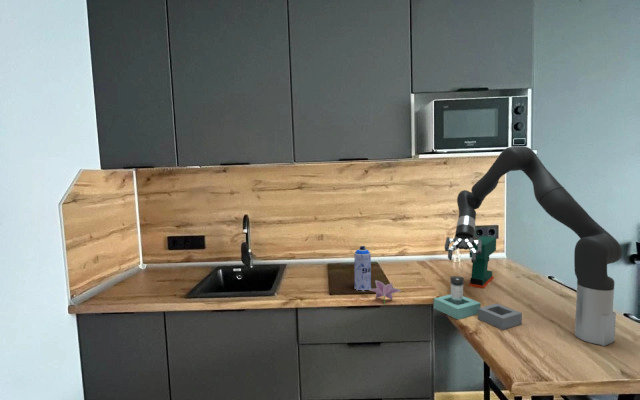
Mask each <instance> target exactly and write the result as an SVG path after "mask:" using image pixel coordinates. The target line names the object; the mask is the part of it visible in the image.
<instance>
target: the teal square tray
mask: <svg viewBox="0 0 640 400" xmlns="http://www.w3.org/2000/svg"><path fill="white" fill-rule="evenodd" d="M481 307H482V305H481V302H479V301H477V300H474V299H471V298H469V297H467V296H464V295H463V304H461V305H455V304H453V303H451V293H450V294H447V295H443V296H438V297H434V298H433V310H437V311H438V312H441V313H443V314H446V316H449V317H452V318H453V319H456V320H461V319H465V318H468V317H472V316H475V315H478V308H481Z"/></svg>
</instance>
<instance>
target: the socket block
mask: <svg viewBox="0 0 640 400" xmlns="http://www.w3.org/2000/svg"><path fill="white" fill-rule="evenodd" d="M477 320H479V321H482V322H483V323H486V324H488V325H491V326H493V327H495V328H498V329H500V330H502V331H504V330H507V329H510V328H513V327H516V326H519V325H522V324H523V313H522V312H520V311H519V310H515V309H513V308H510V307H508V306H505V305H502V304H499V303H497V302H496V303H493V304H488V305H485V306H481V308H478V314H477Z"/></svg>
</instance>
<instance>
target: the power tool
mask: <svg viewBox="0 0 640 400" xmlns="http://www.w3.org/2000/svg"><path fill="white" fill-rule="evenodd" d="M479 239H480V240H481V243H482V249H481V255H479V254H478V255H476V261H475V262H474V263H472V264H471V265H472V266H471V277H469V278H470V280H469V281H470V282H469V283H468V286H469V287H473V288H474V287H475V288H477V289H478V288H479V289H485V287H488V285H489V284H488V283H489V282H492V280H494V275H493V270H488V268H489V267H488V265H489V262H490V256H491V255H492V254H493V253H495V252H496V251H497V237H493V236H484V235H483V236H480V237H479V238H477V239H476V240H475V239H474V240H475V241H478V240H479ZM473 247H474V249H475V250H478V246H477V245H476V244H474V245H473ZM469 258H470V259H471V258H472V252H470V251H469Z"/></svg>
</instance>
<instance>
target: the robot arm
mask: <svg viewBox="0 0 640 400" xmlns="http://www.w3.org/2000/svg"><path fill="white" fill-rule="evenodd" d="M514 171H520V172H521V171H522V172H523V173H524V174H525V175H526V176H527V177H528V179H529V180H530V182H531V183H532V185H533V186H532V187H533V193H534V194H533V195H534V198H535V200H536V202H537V203H538V204H539V205H540V207H541V208H542V209H543V210H544V211H545V212H546V213H547V214H548V215H549V216H550V217H551V218H553V219H554V220H556V221H557V222H559V223H561V225H562V224H563V226H566V227H567V228H568V229H570V230H571V231H572V232H574V234H575V235H577V236H578V238H579V239H578V241H576V244H575V245H574V246H575V247H574V253H573V254H574V255H573V258H574V259H573V260H574V261H573V262H574V266H573V267H574V274H575V275H574V276H576V299H575V301H576V302H575V321H574V323H575V325H574V335H575V337H577V339H579V340H582V341H585V342H587V343H590V344H594V345H599V346H603V347H605V346H608V345H610V344H612V343H614V342H615V338H616V337H615V336H616V317H617V312H615V311H614V294H615V280H614V279H613V278H612V277H610V276H609V275H608V265H609V264H614V263H616V262H618V261H620V259H621V258H622V256H623V250H622V249H623V248H622V246H621V245H620V243H619V241H618V240H617V239H616V238H614V236H613V235H611V234H610V233H609V232H608V231H607V230H605V228H603V227H602V226H601V225H600V224H599V223H598V222H597V221H595V220H594V219H593V217H591V215H589V213H588V212H587V211H586V210H585V209H584V208H583V207H582V205H581V204H579V203H578V202H577V200H575V199H574V197H573V196H572V195H571V194H570V193H569V191H567V189H566V188H565V187H564V186H563V185H562V184H561V183H560V182H559V181H558V180H557V179H556V177H554V176H553V174H552V173H551V172H550V171H549V170H548V169H547V167H545V165H544V164H543V163H542V160H541V159H540V158H539V156H538V155H537V154H536V153H535V152H534V151H533V149H531V148H530V147H527V146H523V145H521V146H511V147H506V148H505V149H504V150H502V151H501V152H500V154H499V155H498V157H497V158H496V159H495V161H494V162H493V163H492V165H491V166H490V167H489V169H488V170H487V172H486V173H485V174H484V175H483V176H482V177H480V178H479V179H478V180H477V182H476V183H474V184H473V185H472V187H471V191H469V190H465V189H464V190H461V191H459V193H458V195H457V199H456V202H457V207H458V219H457V222H456V227H455V234H454V238H450V236H447V237H446V240H445V243H444V251H445V252H447V258H448V260H449V261H452V260H453V259H452V258H453V252H455V251H457V250H465V251H467V250H469V253H470V252H472V258H470V259H471V262H470V263H472V264H473V263H474V262H475V261H476V255H478V254H479V255H481V249H482V243H481V240H480V239H479V238H478V239H479V240H478V241H475V233H476V232H475V231H476V219H477V212H476V210H478V209H479V208H480V207H481V206H482V204H483V202H484V200H485V198H486V197H487V196H488V195H489V194H491V193H492V192H493V191H494V190H495V189H496V188H497V186H498V183H499V181H500V179H501V178H502V177H503V176H504V175H506V174H508V173H509V172H514ZM452 243H453V244H452ZM451 244H452V245H451ZM474 244H476V245H477V246H478V250H475V249H474V247H473V245H474ZM450 245H451V246H450Z"/></svg>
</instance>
